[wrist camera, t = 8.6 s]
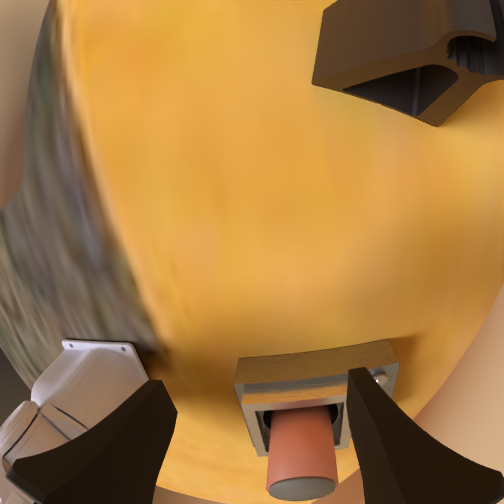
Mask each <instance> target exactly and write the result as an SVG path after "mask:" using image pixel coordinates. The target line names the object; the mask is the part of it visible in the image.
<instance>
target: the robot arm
mask: <svg viewBox="0 0 504 504" xmlns="http://www.w3.org/2000/svg"><path fill="white" fill-rule="evenodd" d="M62 345H63V347H64V349H65V350H64V351H63V352H62V353H61V354H60V355H59V356H58V357H57V358H56V359H55V360H54V361H53V363H52V364H51V365H50V366H49V367H48V368H47V369H46V370H45V371H44V372H43V373H42V374H41V376H40V377H39V378H38V379H37V380H36V382H35V383H34V386H33V389H32V394H31V401H24V402H23V403H22V404H21V405H20V406H19V407H18V408H17V409H16V410H15V411H14V412H13V413H12V414H11V415H10V416H9V418H8V419H7V420H6V421H5V422H4V424H3V425H2V426H1V428H0V504H152V501H153V495H154V491H155V486H156V481H157V478H158V474H159V471H160V469H161V466H162V463H163V461H164V458H165V455H166V452H167V450H168V447H169V444H170V441H171V439H172V436H173V433H174V428H175V424H176V418H177V413H178V412H177V410H176V408H175V406H174V404H173V402H172V400H171V398H170V396H169V394H168V392H167V390H166V388H165V386H164V384H163V382H162V380H149V378H148V376H147V374H146V372H145V370H144V368H143V366H142V363H141V361H140V359H139V357H138V355H137V353H136V350H135V348H134V346H133V345H132V344H130V343H121V342H97V341H81V340H68V339H64V340H63V341H62ZM346 408H347V415H348V422H349V428H350V432H351V435H352V439H353V443H354V447H355V450H356V454H357V458H358V462H359V466H360V470H361V474H362V479H363V487H364V496H365V504H496V503H498V502H499V501H500V500H502V499H503V498H504V477H503V475H502V473H501V472H499V471H497V470H494V469H491V468H488V467H485V466H483V465H480V464H478V463H476V462H473V461H471V460H469V459H467V458H465V457H463V456H461V455H460V454H458V453H456V452H454V451H453V450H451V449H450V448H448V447H446V446H444V445H443V444H442V443H440V442H439V441H437V440H436V439H434V438H433V437H431V436H430V435H429V434H428V433H427V432H425V431H424V430H423V429H422V428H421V427H419V426H418V425H417V424H416V423H415V422H414V421H413V420H412V419H411V418H409V417H408V416H407V415H406V414H405V413H404V412H403V411H402V410H401V409H400V408H399V407H398V405H397V404H396V403H395V402H394V401H393V400H392V399H391V398H390V397H389V396H388V394H387V393H386V392H385V391H384V390H383V389H382V387H381V386H380V385H379V384H378V382H377V381H376V380H375V379H374V377H373V376H372V375H371V373H370V372H369V371H368V369H367V368H366V367H360V368H355V369H349V370H348V385H347V397H346Z"/></svg>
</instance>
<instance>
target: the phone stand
mask: <svg viewBox="0 0 504 504" xmlns="http://www.w3.org/2000/svg"><path fill="white" fill-rule="evenodd" d="M496 80H504V0H338V1H336V2H335V3H333V4H332V5H330V6H329V7H327V8H326V9H325V10H324V11H323V17H322V23H321V30H320V36H319V42H318V48H317V54H316V60H315V66H314V72H313V77H312V84H313V85H315V86H319V87H323V88H327V89H331V90H335V91H338V92H342V93H345V94H349V95H352V96H355V97H359V98H362V99H365V100H368V101H371V102H374V103H379V104H381V105H382V106H385V107H388V108H391V109H393V110H396V111H399V112H401V113H404V114H406V115H409V116H411V117H413V118H416V119H418V120H420V121H423V122H425V123H427V124H429V125H431V126H435V127H438V126H439V125H440V124H442V123H443V122H444V121H445V120H446V119H447V118H448V117H449V116H450V115H451V114H452V113H453V112H454V111H455V110H457V109H458V108H459V107H460V106H461V105H462V104H463V103H464V102H465V101H466V100H467V99H468V98H469V97H470V96H471V95H472V94H473V93H474V92H475V91H476V90H477V89H479V88H480V87H481V86H482V85H484V84H486V83H488V82H491V81H496Z"/></svg>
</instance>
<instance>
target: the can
mask: <svg viewBox="0 0 504 504" xmlns="http://www.w3.org/2000/svg"><path fill="white" fill-rule="evenodd" d="M337 486H338V474H337V465H336V456H335V447H334V439H333V431H332V424H331V417H330V410H329V408H328V406H327V405H319V406H311V407H303V408H292V409H280V410H273V412H272V415H271V431H270V445H269V459H268V472H267V484H266V490H267V491H268V492H269V494H270V495H271V496H272V497H274V498H277V499H281V500H286V501H306V500H313V499H317V498H321V497H324V496H326V495H329V494H330V493H332V492H333V491H334V490H335V488H336V487H337Z"/></svg>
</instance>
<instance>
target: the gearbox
mask: <svg viewBox="0 0 504 504" xmlns="http://www.w3.org/2000/svg"><path fill="white" fill-rule="evenodd" d="M399 364H400V361H399V359H398V358H397V356H396V354H395V352H394V350H393V348H392V346H391V344H390V342H389V340H388V339H385V340H380V341H375V342H370V343H364V344H359V345H353V346H347V347H341V348H334V349H328V350H321V351H313V352H305V353H297V354H287V355H277V356H266V357H253V358H239V360H238V365H237V370H236V375H235V380H234V387H235V390H236V394H237V397H238V400H239V403H240V407H241V410H242V413H243V416H244V419H245V422H246V425H247V428H248V431H249V434H250V437H251V440H252V443H253V446H254V447H255V449H256V452H257V455H258V456H269V445H270V431H271V415H272V412H273V410H280V409H292V408H303V407H311V406H319V405H327V406H328V408H329V410H330V417H331V424H332V431H333V439H334V447H335V450H338V449H344V448H348V447H349V441H350V437H352V435H351V432H350V428H349V422H348V415H347V408H346V397H347V385H348V370H349V369H355V368H360V367H366V368H367V369H368V371H369V372H370V373H371V375H372V376H373V377H374V379H375V380H376V381H377V382H378V384H379V385H380V386H381V387H382V389H383V390H384V391H385V392H386V393H387V394H388V396H389V397H390V398H391V399H392V396H393V392H394V388H395V383H396V379H397V374H398V369H399Z"/></svg>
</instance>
